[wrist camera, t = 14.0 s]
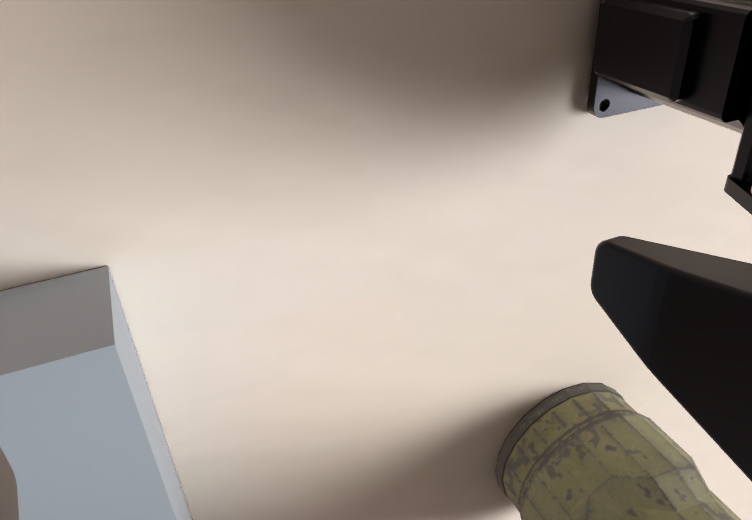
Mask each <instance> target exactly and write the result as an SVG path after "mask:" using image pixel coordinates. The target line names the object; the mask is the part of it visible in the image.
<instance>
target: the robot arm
mask: <svg viewBox="0 0 752 520" xmlns="http://www.w3.org/2000/svg"><path fill="white" fill-rule="evenodd" d="M602 101H603V104H602V105H601V107H600V108H599V106H600V103H601V102H602ZM659 105H666V106H669V107H671V108H674V109H677V110H680V111H682V112H685V113H688V114H690V115H693V116H696V117H698V118H701V119H704V120H706V121H709V122H712V123H715V124H717V125H720V126H723V127H725V128H728V129H731V130H733V131H736V132H739V133H741V134H742V135H741V139H740V143H739V146H738V150H737V154H736V158H735V162H734V165H733V169H732V173H731V174H730V175H728V177H727V180H726V184H725V188H724V191H725V192H726V193H727V194H728V195H729V196H731V197H732V198H733V199H734V200H735V201H736V202H738V203H739V204H740V205H741V206H742V207H743V208H744V209H746V210H747V211H748V212H749V213H750V214H751V215H752V0H601V3H600V11H599V19H598V27H597V34H596V42H595V50H594V58H593V66H592V74H591V82H590V90H589V98H588V111H589V113H591V114H592V115H595V116H597V117H599V118H603V117H608V116H613V115H617V114H622V113H626V112H631V111H636V110H640V109H645V108H650V107H654V106H659ZM591 290H592V294H593V296H594V298H595V299H596V301H597V302H598V303H599V305H600V306H601V307H602V309H603V310H604V311H605V313H606V314H607V315H608V317H609V318H610V319H611V321H612V322H613V323H614V325H615V326H616V327H617V329H618V330H619V331H620V333H621V334H622V335H623V337H624V338H625V339H626V341H627V342H628V343H629V345H630V346H631V347H632V349H633V350H634V351H635V352H636V354H637V355H638V356H639V358H640V359H641V360H642V361H643V363H644V364H645V365H646V367H647V368H648V369H649V370H650V371H651V372H652V373H653V375H654V376H655V377H656V378H657V379H658V380H659V381H660V382H661V384H662V385H663V386H664V387H665V388H666V389H667V390H668V391H669V392H670V393H671V394H672V395H673V397H674V398H675V399H676V400H677V401H678V402H679V403H680V404H681V405H682V406H683V407H684V408H685V410H686V411H687V412H688V413H689V414H690V415H691V416H692V417H693V418H694V419H695V420H696V422H697V423H698V424H699V425H700V426H701V427H702V428H703V429H704V430H705V431H706V432H707V433H708V435H709V436H710V437H711V438H712V439H713V440H714V441H715V442H716V443H717V444H718V445H719V447H720V448H721V449H722V450H723V451H724V452H725V453H726V454H727V455H728V456H729V457H730V458H731V460H732V461H733V462H734V463H735V464H736V465H737V466H738V467H739V468H740V469H741V470H742V472H743V473H744V474H745V475H746V476H747V477H748V478H749V479H750V480H751V481H752V264H750V263H746V262H741V261H736V260H732V259H727V258H723V257H718V256H713V255H709V254H704V253H700V252H695V251H690V250H686V249H681V248H677V247H672V246H667V245H663V244H658V243H654V242H649V241H644V240H640V239H635V238H631V237H626V236H619V237H615V238H612V239H608V240H605V241H602V242H601V243H599V244H598V246H597V248H596V251H595V257H594V264H593V271H592V278H591ZM0 520H19V508H18V491H17V483H16V478H15V474H14V472H13V469H12V467H11V465H10V463H9V462H8V460H7V458H6V456H5V454H4V452H3V451H2V449H1V447H0Z"/></svg>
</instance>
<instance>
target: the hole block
mask: <svg viewBox="0 0 752 520" xmlns="http://www.w3.org/2000/svg"><path fill="white" fill-rule="evenodd" d="M0 447H1V449H2V451H3V452H4V454H5V456H6V458H7V460H8V462H9V463H10V465H11V467H12V469H13V472H14V474H15V478H16V483H17V491H18V508H19V520H192V518H191V515H190V512H189V509H188V506H187V503H186V500H185V497H184V493H183V490H182V487H181V484H180V481H179V478H178V475H177V472H176V469H175V466H174V463H173V460H172V457H171V454H170V451H169V448H168V445H167V442H166V439H165V436H164V433H163V430H162V427H161V424H160V421H159V418H158V415H157V412H156V409H155V406H154V403H153V400H152V397H151V394H150V391H149V388H148V385H147V382H146V379H145V376H144V373H143V370H142V367H141V363H140V360H139V357H138V354H137V351H136V348H135V345H134V342H133V339H132V336H131V333H130V330H129V327H128V324H127V321H126V318H125V315H124V312H123V309H122V306H121V303H120V300H119V297H118V294H117V291H116V288H115V285H114V282H113V279H112V276H111V273H110V270H109V267H108V266H105V267H101V268H97V269H93V270H88V271H84V272H80V273H75V274H71V275H67V276H63V277H58V278H54V279H50V280H46V281H41V282H37V283H33V284H28V285H24V286H20V287H16V288H11V289H7V290H3V291H0Z"/></svg>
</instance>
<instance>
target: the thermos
mask: <svg viewBox="0 0 752 520" xmlns="http://www.w3.org/2000/svg"><path fill="white" fill-rule="evenodd" d="M496 476H497V480H498V483H499V486H500V488H501V489H502V490H503V492H504V493H505V494H506V495H507V496H508V497H509V498H510V499H511V501H512V502H513V504H514V505H515V506H516V508H517V509H518V511H519V512H520V515H521V519H522V520H741V519H740V518H739V517H738V516H737V515H736V514H734V513H733V512H732V511H731V510H730V509H729V508H728V507H727V506H726V505H725V504H724V503H723V502H722V501H721V500H720V499H719V498H718V497H717V496H716V495H715V494H714V493H712V492H711V491H710V490H709V488H708V487H707V485H706V483H705V481H704V479H703V477H702V475H701V474H700V472H699V470H698V468H697V466H696V464H695V463H694V461H693V459H692V457H691V456H690V455H688V454H687V453H686V452H685V451H684V450H683V449H682V448H681V447H680V446H679V445H678V444H677V443H676V442H674V441H673V440H672V439H671V438H670V437H669V436H668V435H667V434H666V433H665V432H664V431H663V430H662V429H660V428H659V427H658V426H657V425H656V424H655V423H654V422H653V421H652V420H651V419H650V418H647V417H645V416H643V415H641V414H639V413H637V412H636V411H635V410H634V409H633V408H632V407H630V406H629V405H628V404H627V403H626V402H625V401H624V399H623V398H622V396H621V395H620V394H619V393H618V392H616V391H615V390H614V389H612V388H610V387H608V386H606V385H604V384H602V383H583V384H580V385H576V386H573V387H569V388H566V389H563V390H561V391H560V392H558V393H556V394H554V395H552V396H550V397H549V398H547V399H545V400H543V401H542V402H541V403H540V404H538V405H537V406H536V407H535V408H534V409H532V410H531V411H530V412H529V413H527V414H526V415H525V416H524V417H523V418H522V419H521V420H520V422H519V423H518V424H517V425H516V427H515V428H514V429H513V430H512V431H511V433H510V434H509V435H508V437H507V439H506V441H505V443H504V445H503V447H502V449H501V451H500V453H499V455H498V460H497V466H496Z"/></svg>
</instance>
